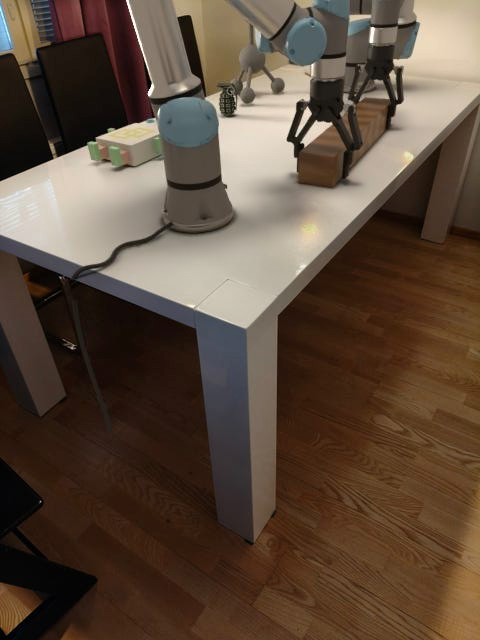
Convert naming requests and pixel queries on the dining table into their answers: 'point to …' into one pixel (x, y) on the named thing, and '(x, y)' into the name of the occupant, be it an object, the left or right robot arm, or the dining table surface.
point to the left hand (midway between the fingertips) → (322, 173)
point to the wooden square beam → (341, 144)
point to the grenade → (227, 99)
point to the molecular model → (253, 70)
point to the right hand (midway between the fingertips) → (372, 126)
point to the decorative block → (128, 144)
